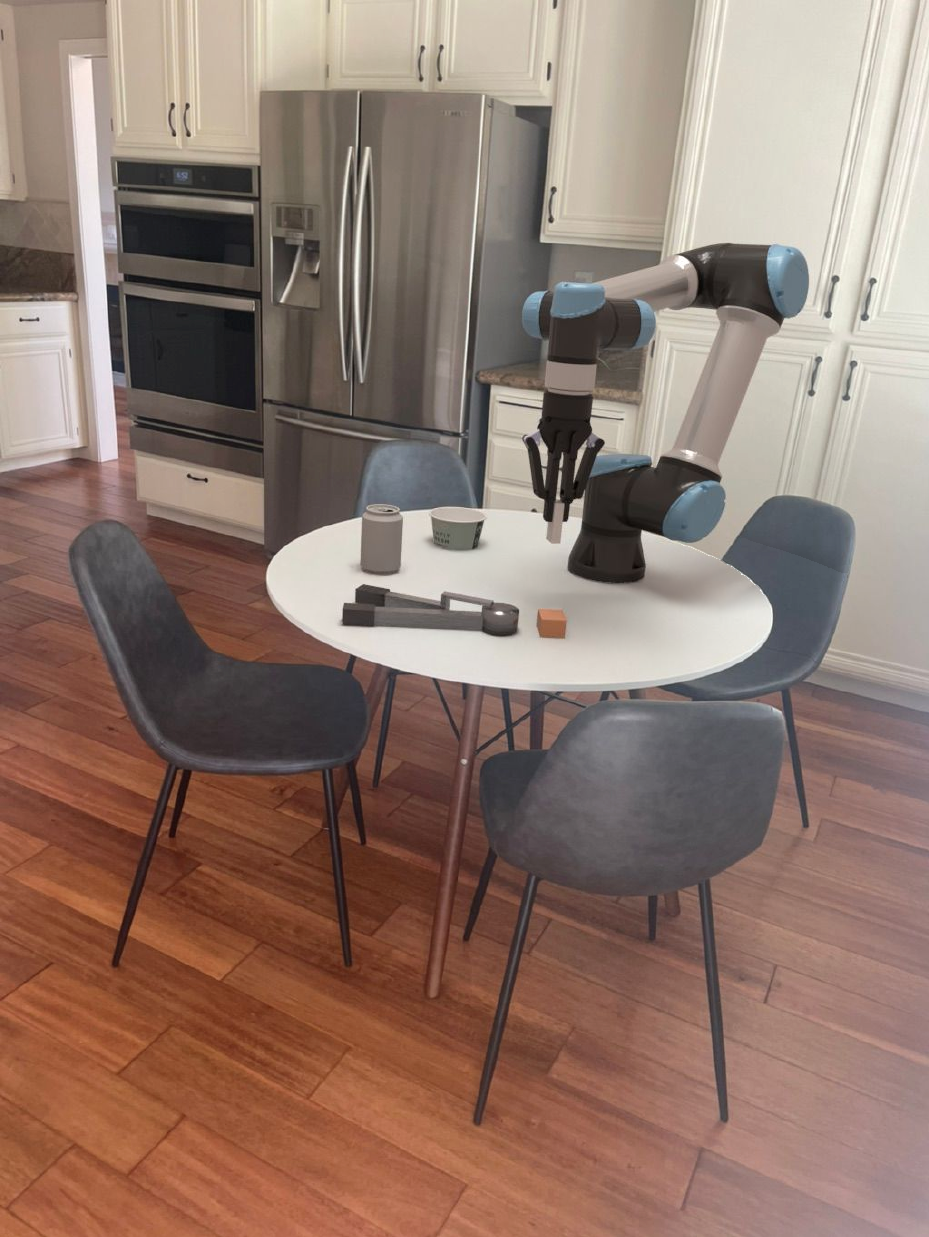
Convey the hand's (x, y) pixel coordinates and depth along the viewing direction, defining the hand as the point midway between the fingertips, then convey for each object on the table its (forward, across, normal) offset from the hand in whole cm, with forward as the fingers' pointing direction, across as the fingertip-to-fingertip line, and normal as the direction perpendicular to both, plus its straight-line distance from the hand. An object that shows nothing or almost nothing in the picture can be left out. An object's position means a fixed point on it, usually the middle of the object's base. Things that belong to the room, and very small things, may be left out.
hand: (553, 541), depth 150 cm
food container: (+15, +5, -46) cm, 49 cm away
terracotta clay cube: (+14, 0, +4) cm, 15 cm away
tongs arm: (+14, +19, -5) cm, 24 cm away
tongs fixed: (+14, +19, 0) cm, 24 cm away
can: (+14, +23, -29) cm, 40 cm away
